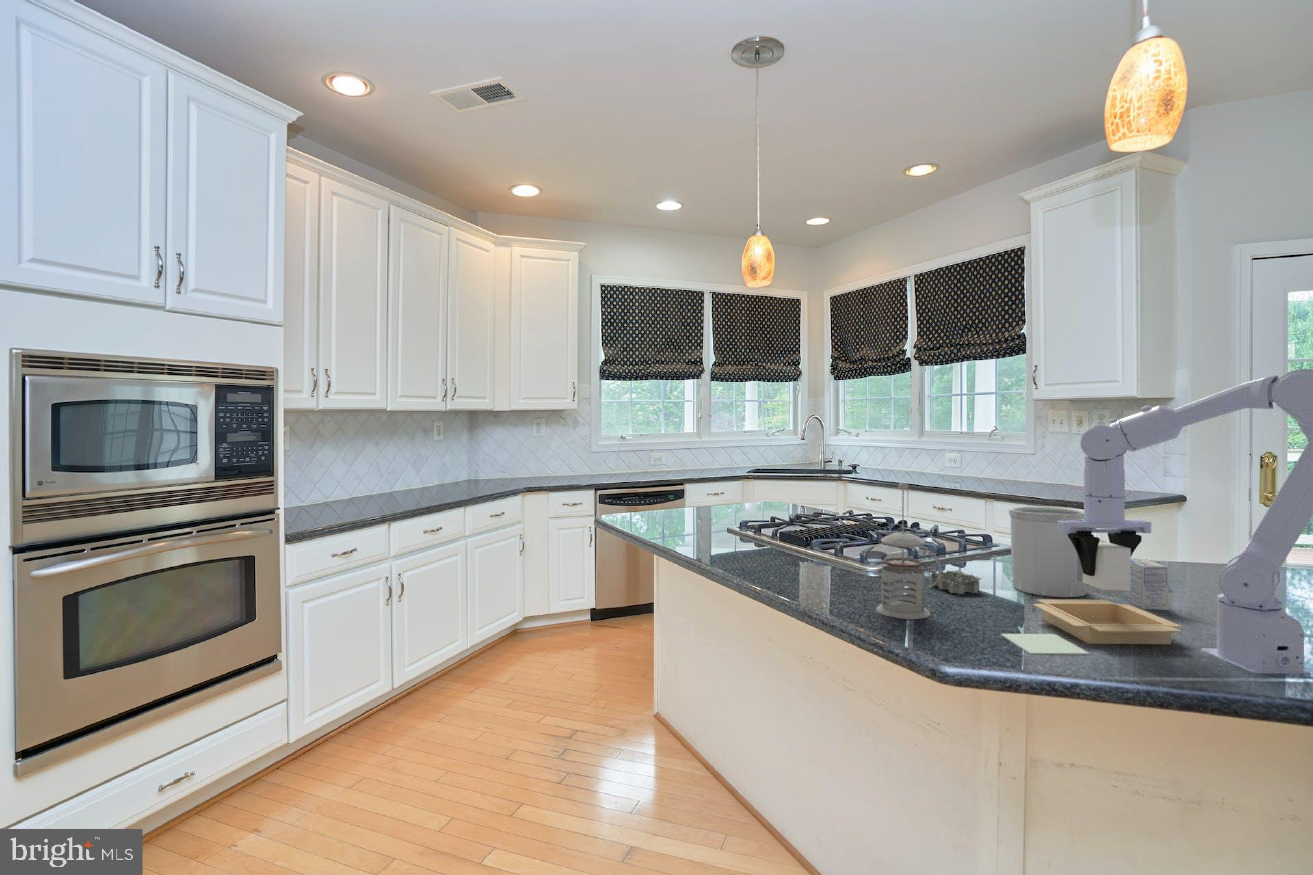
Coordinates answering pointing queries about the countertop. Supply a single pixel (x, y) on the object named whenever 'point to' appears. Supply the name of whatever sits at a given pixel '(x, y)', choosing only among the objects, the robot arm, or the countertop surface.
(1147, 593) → the medicine box
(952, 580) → the egg carton
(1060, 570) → the utensil holder
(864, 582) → the countertop surface
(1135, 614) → the tan flat tray
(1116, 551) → the grey box
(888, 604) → the french press
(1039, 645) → the mat
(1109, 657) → the countertop surface
